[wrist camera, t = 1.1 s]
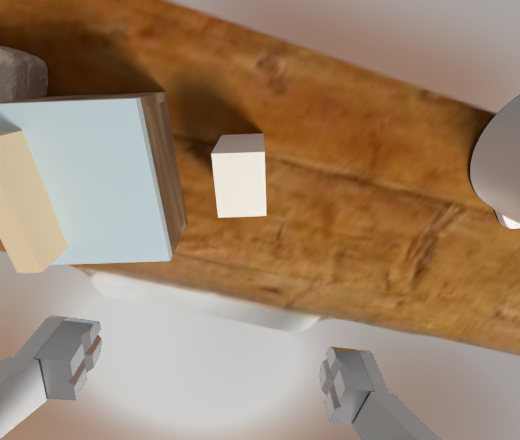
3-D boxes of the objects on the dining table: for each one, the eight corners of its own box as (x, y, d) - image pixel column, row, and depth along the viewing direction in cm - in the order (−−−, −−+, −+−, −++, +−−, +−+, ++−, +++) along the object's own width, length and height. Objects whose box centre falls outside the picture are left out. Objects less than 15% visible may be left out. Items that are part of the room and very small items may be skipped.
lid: (140, 97, 23) (112, 103, 19) (172, 255, 30) (157, 287, 26) (-10, 103, 23) (-73, 111, 19) (56, 259, 30) (21, 291, 26)
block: (263, 133, 32) (264, 151, 25) (264, 185, 34) (266, 215, 27) (221, 134, 32) (211, 153, 25) (226, 187, 34) (218, 217, 27)
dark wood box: (165, 91, 30) (140, 97, 23) (187, 222, 37) (173, 254, 30) (47, 96, 30) (-8, 103, 24) (91, 226, 37) (57, 258, 30)
